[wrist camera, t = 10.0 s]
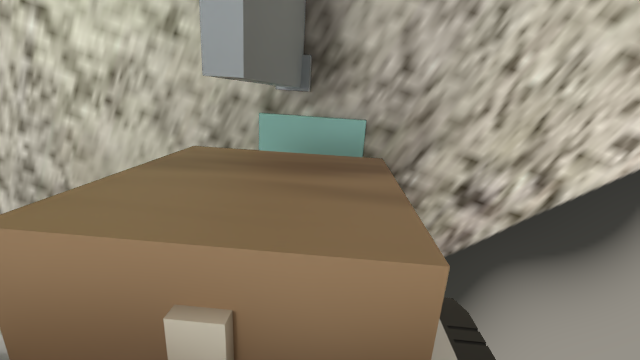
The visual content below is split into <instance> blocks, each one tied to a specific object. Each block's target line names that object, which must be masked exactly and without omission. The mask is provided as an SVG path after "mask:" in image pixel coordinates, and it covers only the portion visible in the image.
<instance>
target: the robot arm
mask: <svg viewBox="0 0 640 360" xmlns="http://www.w3.org/2000/svg"><path fill="white" fill-rule="evenodd" d="M0 360H10V359H9V356H8V353H7V349H6V346H5V343H4V340H3V336H2V333H1V330H0ZM431 360H496V359H495V357H494V356H493V354H492V352H491V351H490V349H489V347H488V346H486V342H485V340H484V339H483V337H482V335H481V334H480V332H478V328H477V327H476V325H475V323H474V321H473V320H472V318H471V316H470V315H469V313H468V312H467V311H466V310H465V309H464V308H463V307H462V306H461V305H459V304H458V303H457V302H456V301H455V300H454V299H453V298H443V303H442V308H441V313H440V318H439V323H438V328H437V333H436V338H435V343H434V348H433V353H432V358H431Z"/></svg>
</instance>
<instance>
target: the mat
mask: <svg viewBox="0 0 640 360" xmlns="http://www.w3.org/2000/svg"><path fill="white" fill-rule="evenodd" d="M365 128H366V120H356V119H342V118H327V117H313V116H298V115H284V114H269V113H259V150H261V151H276V152H291V153H306V154H321V155H335V156H350V157H363V147H364V138H365Z"/></svg>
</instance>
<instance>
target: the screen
mask: <svg viewBox="0 0 640 360" xmlns="http://www.w3.org/2000/svg"><path fill="white" fill-rule="evenodd" d="M199 3H200V26H201V48H202V71H203V75H204V76H211V77H218V78H225V79H232V80H239V81H247V82H254V83H261V84H268V85H275V86H276V89H281V90H296V91H310V84H311V64H312V56H311V55H304V35H305V12H306V0H199Z"/></svg>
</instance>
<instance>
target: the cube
mask: <svg viewBox="0 0 640 360" xmlns="http://www.w3.org/2000/svg"><path fill="white" fill-rule="evenodd" d="M449 269H450V266H449V264H448V263H447V261H446V260H445V258H444V256H443V255H442V253H441V252H440V250H439V248H438V247H437V245H436V244H435V242H434V240H433V239H432V237H431V236H430V234H429V232H428V231H427V229H426V228H425V226H424V224H423V223H422V221H421V220H420V218H419V216H418V215H417V213H416V212H415V210H414V208H413V207H412V205H411V204H410V202H409V200H408V199H407V197H406V196H405V194H404V192H403V191H402V189H401V188H400V186H399V184H398V183H397V181H396V180H395V178H394V176H393V175H392V173H391V172H390V170H389V168H388V167H387V165H386V164H385V162H384V160H383V159H380V158H365V157H350V156H335V155H321V154H306V153H291V152H276V151H261V150H246V149H232V148H217V147H202V146H192V147H189V148H186V149H184V150H181V151H178V152H175V153H172V154H170V155H167V156H164V157H161V158H158V159H155V160H153V161H150V162H147V163H144V164H141V165H139V166H136V167H133V168H130V169H127V170H125V171H122V172H119V173H116V174H113V175H110V176H108V177H105V178H102V179H99V180H96V181H94V182H91V183H88V184H85V185H82V186H79V187H77V188H74V189H71V190H68V191H65V192H63V193H60V194H57V195H54V196H51V197H49V198H46V199H43V200H40V201H37V202H34V203H32V204H29V205H26V206H23V207H20V208H18V209H15V210H12V211H9V212H6V213H4V214H1V215H0V330H1V333H2V336H3V340H4V343H5V346H6V349H7V353H8V356H9V359H10V360H431V358H432V353H433V348H434V343H435V338H436V333H437V328H438V323H439V318H440V313H441V308H442V303H443V298H444V293H445V289H446V284H447V278H448V274H449Z"/></svg>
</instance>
